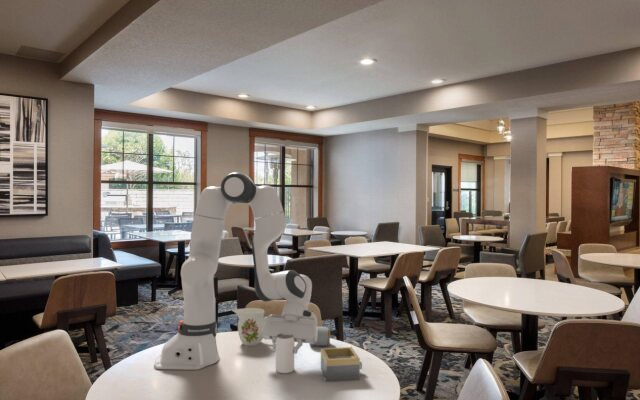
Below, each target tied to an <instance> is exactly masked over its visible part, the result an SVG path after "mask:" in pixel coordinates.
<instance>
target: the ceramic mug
mask: <svg viewBox="0 0 640 400" xmlns="http://www.w3.org/2000/svg"><path fill="white" fill-rule="evenodd" d="M317 328H318V336H317V341H316V342H315V343H314V344H311V343H308V344H309V346H313V347H314V346H315V347H316V346H317V347H319V346H320V347H328V346H329V345H330V340H331V339H330V338H331V329H330V328H329V327H328V326H327V327H326V326H318V325H317Z"/></svg>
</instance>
